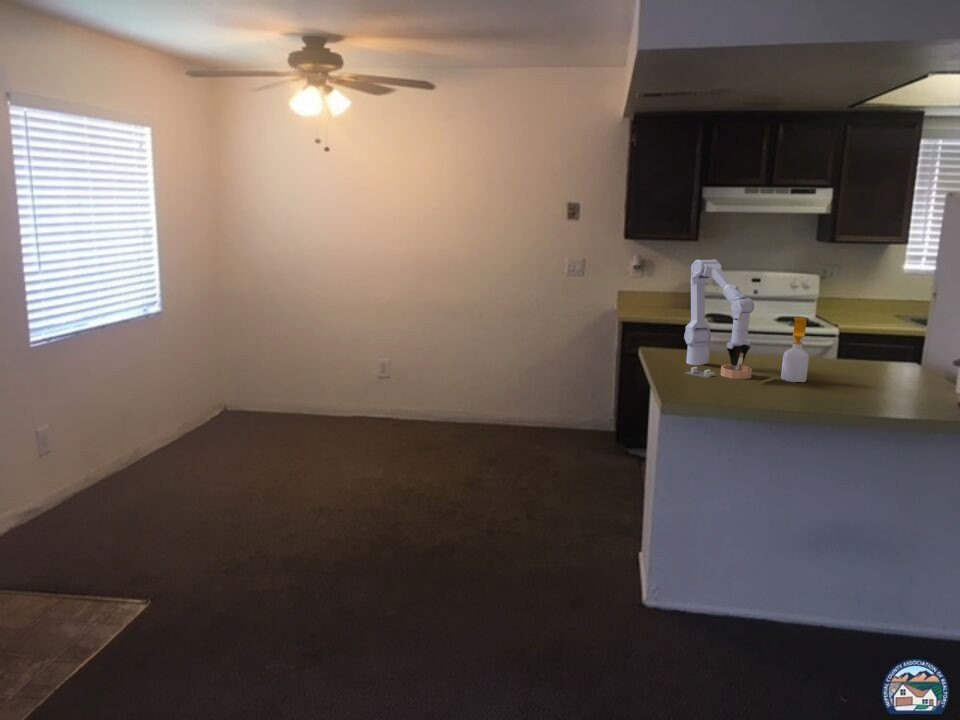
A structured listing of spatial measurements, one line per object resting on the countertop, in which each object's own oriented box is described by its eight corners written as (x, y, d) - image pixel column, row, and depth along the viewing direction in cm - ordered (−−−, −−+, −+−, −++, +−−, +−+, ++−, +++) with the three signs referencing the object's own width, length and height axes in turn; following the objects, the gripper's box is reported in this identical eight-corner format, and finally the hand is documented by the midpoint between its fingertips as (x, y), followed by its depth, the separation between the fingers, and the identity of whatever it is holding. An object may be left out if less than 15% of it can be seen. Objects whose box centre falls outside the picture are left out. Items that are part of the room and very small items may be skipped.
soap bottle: (779, 381, 278) (786, 317, 273) (782, 376, 286) (789, 314, 281) (804, 384, 274) (812, 320, 269) (806, 379, 282) (814, 316, 277)
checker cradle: (694, 372, 289) (695, 365, 289) (717, 377, 282) (717, 369, 281) (683, 375, 284) (683, 368, 283) (706, 380, 277) (706, 372, 276)
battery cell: (733, 368, 284) (735, 351, 282) (743, 370, 281) (745, 352, 280) (728, 370, 281) (730, 352, 280) (738, 372, 278) (740, 354, 277)
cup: (729, 373, 289) (730, 363, 289) (756, 378, 281) (757, 368, 281) (714, 377, 282) (715, 367, 281) (741, 382, 274) (742, 372, 273)
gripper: (740, 333, 270) (737, 368, 273) (759, 329, 280) (755, 363, 282) (723, 330, 275) (719, 365, 278) (742, 326, 285) (738, 360, 288)
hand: (736, 364), depth 281 cm, fingers closed on battery cell, 4 cm apart
